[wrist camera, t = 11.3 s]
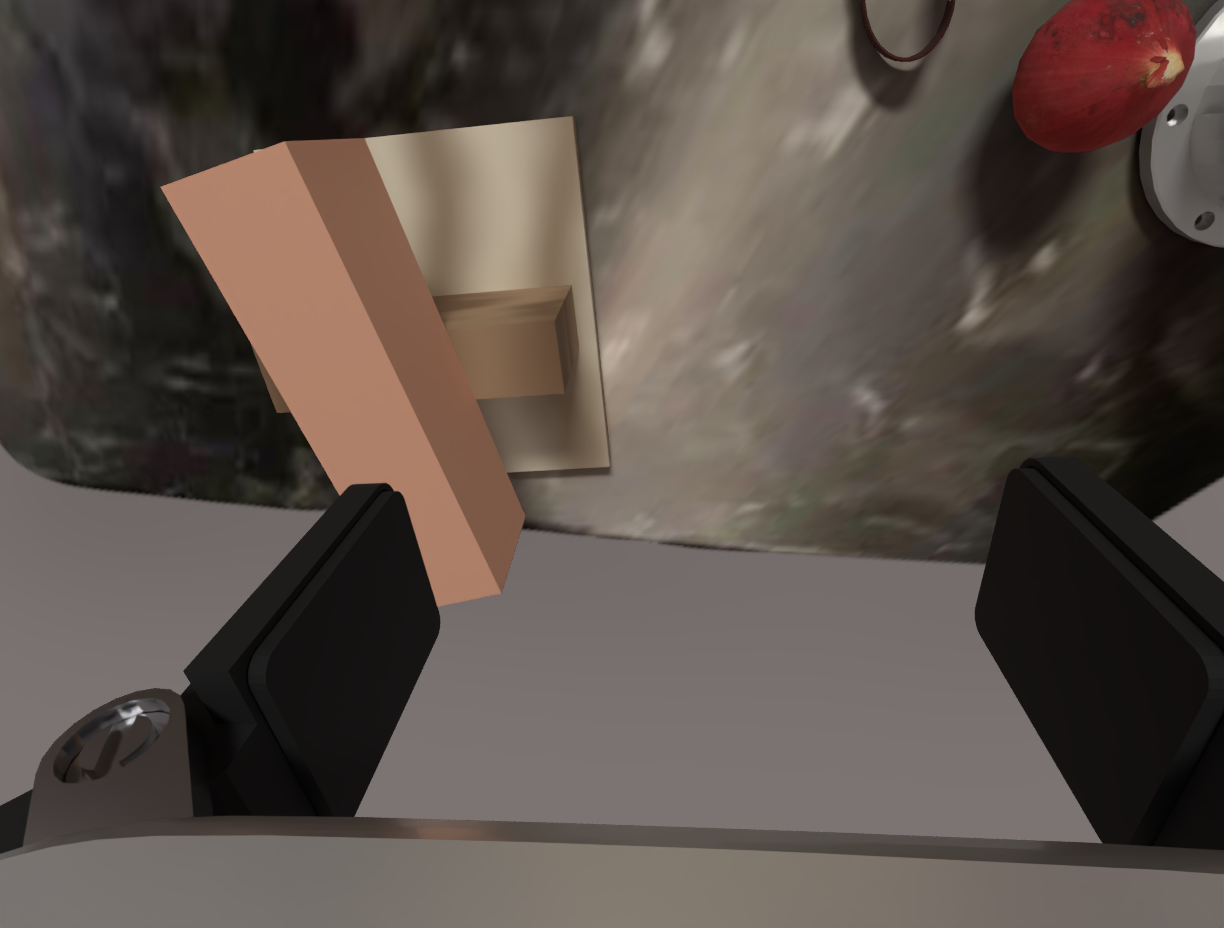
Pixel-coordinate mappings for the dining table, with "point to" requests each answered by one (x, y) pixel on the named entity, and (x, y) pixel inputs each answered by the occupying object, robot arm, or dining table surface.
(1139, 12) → the onion
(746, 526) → the dining table surface
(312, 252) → the beam
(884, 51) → the watch
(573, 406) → the stand
